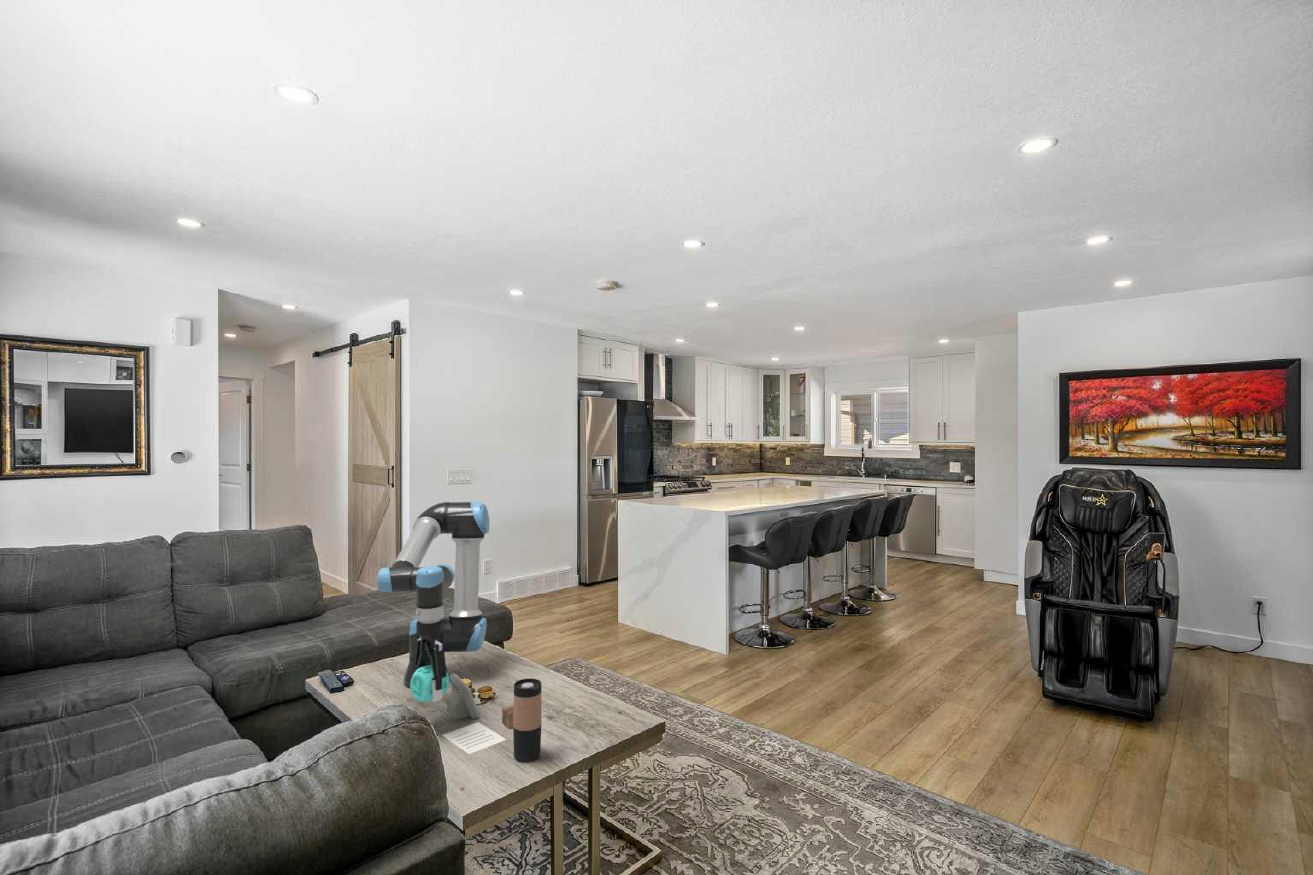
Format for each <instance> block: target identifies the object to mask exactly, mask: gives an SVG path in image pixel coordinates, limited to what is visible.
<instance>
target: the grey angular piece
mask: <svg viewBox="0 0 1313 875" xmlns="http://www.w3.org/2000/svg"><path fill="white" fill-rule="evenodd" d="M449 683H450V684H451V690H452V691H451V692H450V694H449V695H448V696H447V699H446V710H447V712H448V714H449V715H450V716H452V718H453V720H456V721H457V720H460V719H465V718H467V717H468V718H469V717H470V718H471V719H472V720H477V719H479V717H480V711H479V709H478V705H477V703H476V701H475V698H474V695H473V694H472V691H471V688H470V686H469V685H468V684H467V683H465V681H464V680H463V679H462V678H461V677H460V676H459V675H457V673H452V674H450V676H449ZM459 691H460V692H459ZM461 694H462V695H461Z"/></svg>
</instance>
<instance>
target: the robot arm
mask: <svg viewBox="0 0 1313 875" xmlns="http://www.w3.org/2000/svg"><path fill="white" fill-rule="evenodd" d="M489 531H490V515H489V511H488V508H487V506H486V504H485V503H483V502H476V501H462V502H461V501H458V502H457V501H456V502H455V501H453V502H451V501H450V502H449V501H444V502H439V503H437V504H434V505H432V506H430V507H428V508H427V509H426V510H424V511H423V512H421V513H420V514H419V515H418V517H417V518H416V519H415V520H414V522H413V526H412V532H411V534H410V535H409V537H408V539H407V541H405V543H404V545H403V547H402V548H401V551H399V554H398V555H397V557H396V559H395V561H394V562H393V564H392V566H387V567H382V568H380V569H379V571H378V572H377V576H376V586H377V589H378V590H379V592H383V593H391V594H392V593H410V592H411V593H412V592H414V593H416V611H415V613H414V614H415V615H416V617H415V619H413V620H411V622H410V624H409V632H408V637H409V638H408V639H409V640H408V641H409V642H408V643H409V644H408V645H409V648H408V649H409V650H408V651H409V654H408V655H409V658H408V660H409V661H408V664H407V667H406V670H405V673H404V676H403V685H404V686H405V687H406V688H410V682H411V678H412V676H413V674H414V673H415V671H416V670H417V669H419V668H421V667H423V666H427V665H431V666H432V671H433V676H434V678H432V701H431V702H433V703H434V702H438V701H440V700H443V696H442V678H444V677H446V676H447V674H446V671H447V673H448V674H449V670H448V668H447V665H446V655H445V653H461V652H462V653H464V652H465V653H469V652H478V651H479V650H481V648H482V646H483V645H484V642H485V638H486V633H487V626H488V621H487V618H485V617H483V612H482V611H481V610H480V609H479V588H480V587H479V586H480V557H481V556H480V554H481V551H480V550H481V542H482V541H484V539H485V535H486V534H488V533H489ZM442 534H447V535H450V534H451V540H452V541H453V542H454V543H455V555H454V556H455V560H454V561H455V562H454V569H453V568H452V567H451V566H450V565H448V564H444V563H443V564H438V565H435V566H434V565H432V566H431V565H430V566H424V567H423V566H422V567H420V565H421V563H422V562H423V560H424V558H425V556H426V554H427V552H428V550H429V549H430V546H431V545H432V543H433V541H434V540H435V539H436V538H438V537H439V535H442ZM452 583H454V589H453V591H454V592H453V593H454V595H453V609H452V611H451V612H449V614H448V615H449V616H448V618H445V616H444V592H445V591H446V590H447V589H449V588H450V587H451V585H452ZM410 689H411V688H410Z"/></svg>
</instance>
